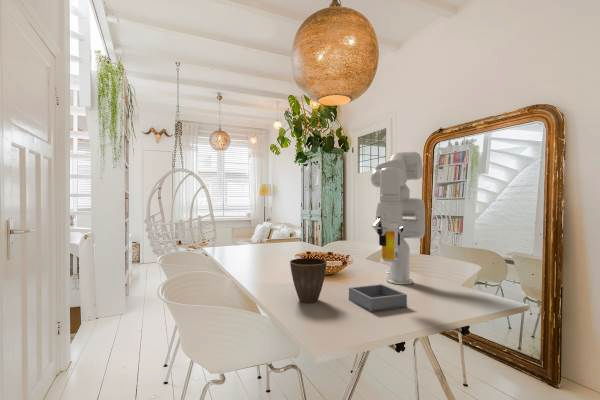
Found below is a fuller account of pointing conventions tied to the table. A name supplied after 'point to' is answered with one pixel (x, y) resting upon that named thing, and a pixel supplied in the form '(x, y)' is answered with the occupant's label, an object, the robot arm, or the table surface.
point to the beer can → (391, 243)
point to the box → (377, 298)
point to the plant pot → (308, 278)
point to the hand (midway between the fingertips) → (389, 244)
